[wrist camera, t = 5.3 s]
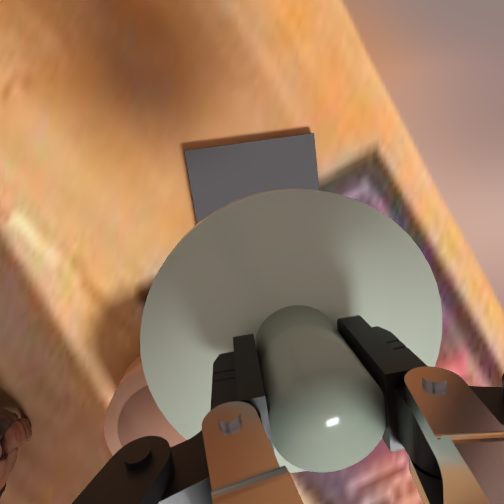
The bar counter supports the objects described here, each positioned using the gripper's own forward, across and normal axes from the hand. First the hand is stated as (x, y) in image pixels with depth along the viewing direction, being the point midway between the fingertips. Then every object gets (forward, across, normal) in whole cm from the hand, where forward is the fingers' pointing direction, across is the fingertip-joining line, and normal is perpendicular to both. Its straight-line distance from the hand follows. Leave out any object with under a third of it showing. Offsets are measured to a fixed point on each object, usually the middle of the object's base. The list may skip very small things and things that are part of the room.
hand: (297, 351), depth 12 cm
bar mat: (+17, -1, -2) cm, 17 cm away
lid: (+2, 0, 0) cm, 2 cm away
